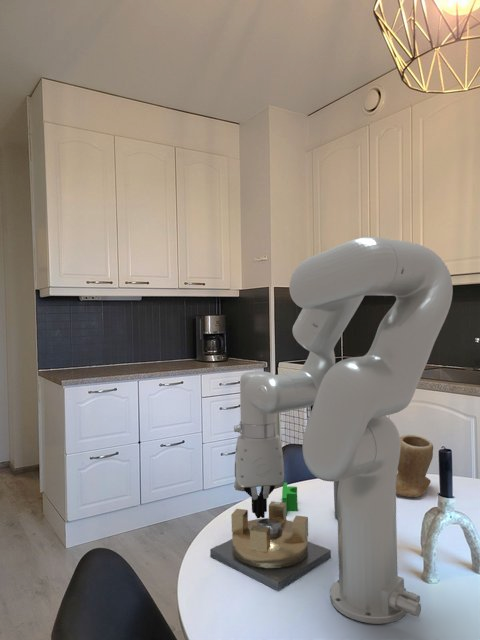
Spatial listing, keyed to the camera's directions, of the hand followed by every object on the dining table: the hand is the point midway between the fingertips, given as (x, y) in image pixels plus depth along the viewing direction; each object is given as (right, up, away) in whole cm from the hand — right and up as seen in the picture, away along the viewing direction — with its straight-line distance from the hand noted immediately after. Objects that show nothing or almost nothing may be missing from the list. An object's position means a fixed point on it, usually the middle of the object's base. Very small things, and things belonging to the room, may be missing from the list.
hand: (259, 515), depth 101 cm
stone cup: (+43, -5, +29) cm, 52 cm away
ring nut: (+2, -4, -6) cm, 8 cm away
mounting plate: (+2, -6, -6) cm, 9 cm away
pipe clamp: (+8, -6, +19) cm, 22 cm away
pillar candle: (+23, -6, +12) cm, 27 cm away
